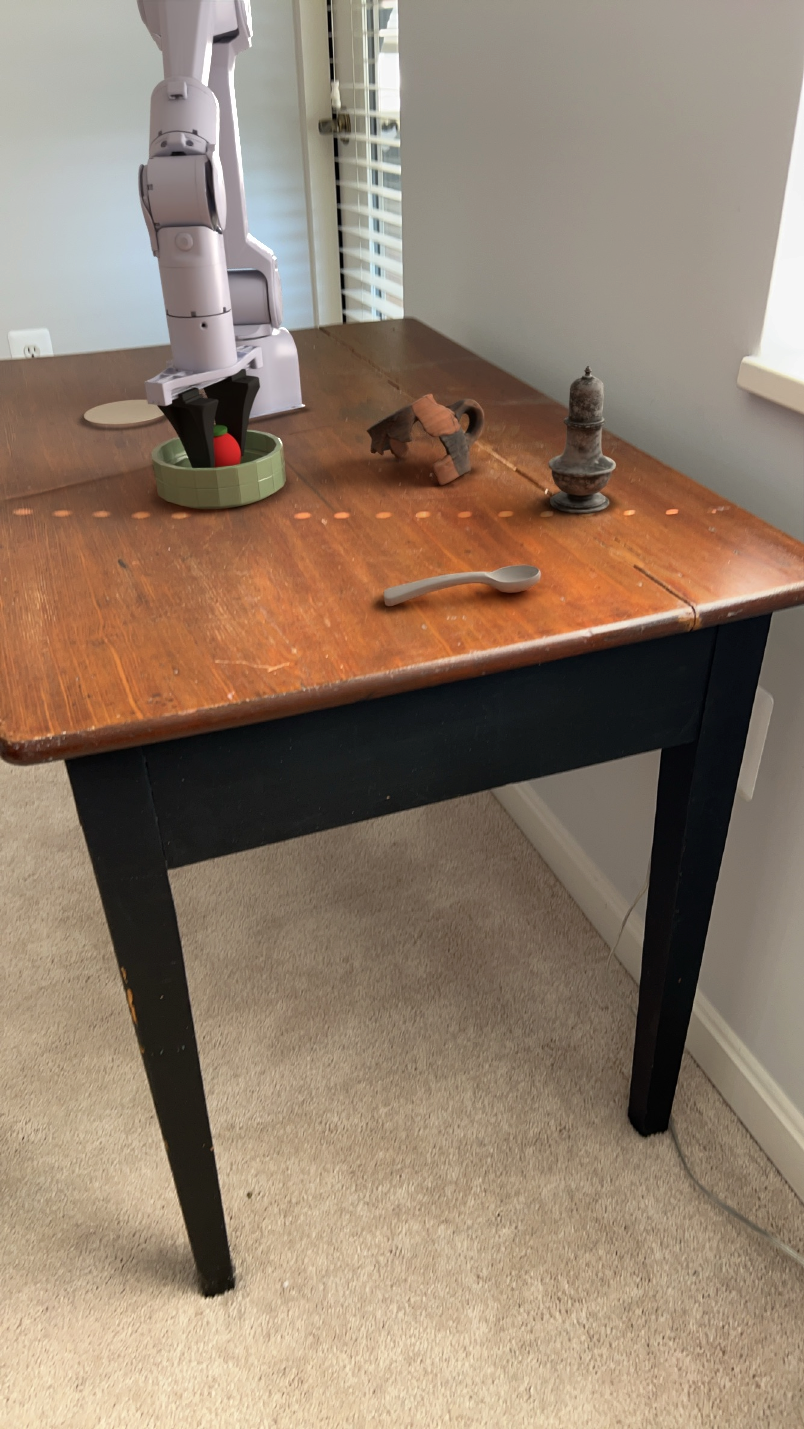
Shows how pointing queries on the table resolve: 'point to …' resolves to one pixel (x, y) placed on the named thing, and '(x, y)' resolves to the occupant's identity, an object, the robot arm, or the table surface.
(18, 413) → the table surface
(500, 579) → the spoon
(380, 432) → the brown irregular piece
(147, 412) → the saucer
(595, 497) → the salt shaker
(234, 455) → the tomato
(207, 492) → the bowl
